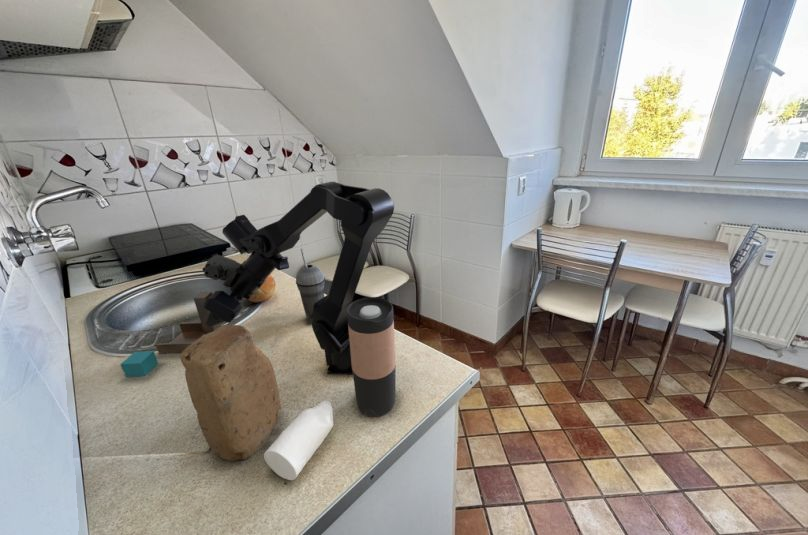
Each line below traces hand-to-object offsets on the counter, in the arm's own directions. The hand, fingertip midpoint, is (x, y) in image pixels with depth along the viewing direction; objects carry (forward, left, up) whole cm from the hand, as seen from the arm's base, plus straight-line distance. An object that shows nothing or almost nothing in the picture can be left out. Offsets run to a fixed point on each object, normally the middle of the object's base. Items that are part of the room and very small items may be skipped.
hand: (218, 314), depth 74 cm
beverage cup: (-19, -11, -8) cm, 23 cm away
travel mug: (-39, +17, -8) cm, 43 cm away
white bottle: (-29, +26, -8) cm, 40 cm away
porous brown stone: (-19, +25, -8) cm, 32 cm away
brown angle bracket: (+7, +1, -8) cm, 11 cm away
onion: (+1, -21, -8) cm, 23 cm away
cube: (+10, +11, -6) cm, 16 cm away
